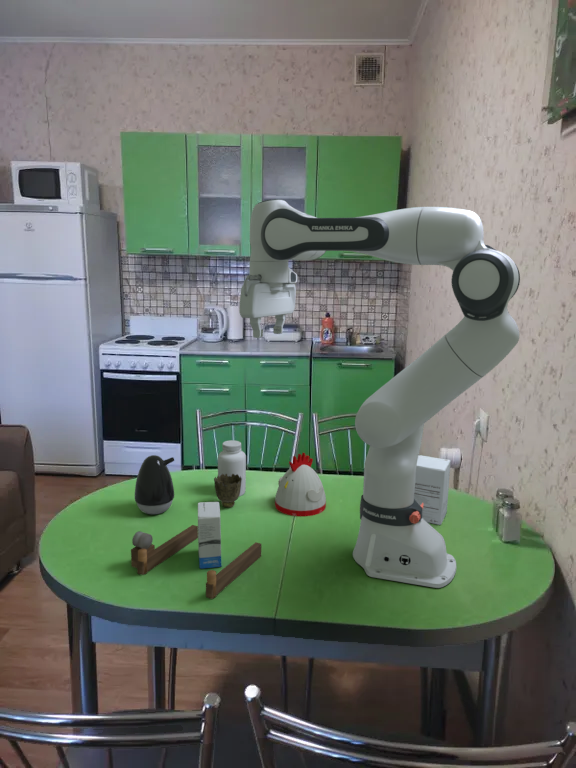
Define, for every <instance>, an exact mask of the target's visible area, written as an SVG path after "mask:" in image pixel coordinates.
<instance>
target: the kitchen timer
mask: <svg viewBox="0 0 576 768" xmlns="http://www.w3.org/2000/svg"><path fill="white" fill-rule="evenodd" d="M313 460H314V458H312V457H310V456H309V455H308V454H306V453H305V452H302V454H301V453H298V454H297V456H295V455H293V456H292V462H291V461H288V464H289V466H290V468H289V469H287V471H286V472H285V473H284V474H283V475H282V476H280V477H279V478H278V481H277V482H278V487H277V490H276V493H275V497H274V507H275V509H276V510H277V511H278V512H279V513H280V512H281V513H282V514H285V515H287V516H292V517H312V516H316V515H319V514H321V513H323V512H324V511H325V510H326V508H327V498H326V492H325V488H324V486H323V482H322V480H321V478H320V477H319V475H318V474H317V472H316V471H315V470H314V469H313V468H312V464H313Z"/></svg>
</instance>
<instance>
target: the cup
mask: <svg viewBox="0 0 576 768" xmlns="http://www.w3.org/2000/svg"><path fill="white" fill-rule="evenodd" d="M213 481H214V488H215V489H214V490H215V494H216V497H217V499H218V500H219V501H220V502H221V504H220V505H221V506H222V507H224V508H232V507H234V506H235V504H236V502H235V501H237V500H238V499H239V498H240V496H239V495H240V489H241V481H242V478H241V476H240V478H239V475H238V474H237V475H234V474H232V476H229V477H228V476H227V474H225V475H224V474H221V475H220V477H219V475H218V474H217V476H215V477H214V478H213Z"/></svg>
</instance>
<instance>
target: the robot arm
mask: <svg viewBox="0 0 576 768" xmlns="http://www.w3.org/2000/svg"><path fill="white" fill-rule="evenodd" d="M484 231H485V230H484V224H483V221H482V220H481V218H480V216H479V215H478V214H477V213H476V212H474V211H472V210H469V209H463V208H458V207H446V206H416V207H406V208H401V209H396V210H395V209H394V210H390V211H386V212H380V213H374V214H373V213H372V214H369V215H363V216H356V217H355V216H354V217H316V216H314V215H312V214H311V215H310V214H309V213H305V212H302V211H300V210H298V209H296V208H294V207H292V206H291V205H290V204H289V203H288V202H287V201H285V200H284V199H278V198H277V199H276V198H274V199H265V200H261V201H260V202H258V203H257V204H255V205H254V206H253V208H252V210H251V214H250V222H249V244H250V249H251V251H250V257H249V275H247V276H246V278H245V279H244V281H243V285H241V288H240V296H239V308H238V311H239V316H240V317H241V318H242V319H243V318H244V319H249V324H250V326H251V329H252V337H253V338H255V339H256V338H257V339H260V338H263V337H264V334H263V333H264V329H262V327H261V323H262V318H266V317H274V319H276V320H275V322H274V323H275V324H274V326H273V329H272V330H273V331H272V332H273V334H274V335H281V334H283V331H284V330H283V327H284V324H285V322H286V315H291V314H294V311H295V310H296V309H295V308H296V297H297V288H296V287H297V286H296V283H297V282H298V274H297V273H296V272H295V271H293V269H292V268H290V267H289V261H290V260H292V261H294V260H295V261H313V260H317V259H319V258H320V257H321V258H322V256H323V255H325V254H326V252H327V251H328V252H334V251H335V252H339V251H340V252H351V253H352V252H354V253H359V254H363V255H367V256H370V257H374V258H378V259H380V260H385V261H388V262H392V263H397V264H403V265H404V264H405V265H411V266H413V265H415V266H443V267H447V268H448V269H450V270H452V274H451V289H452V292H453V294H454V297H455V298H456V301H457V303H458V304H459V305H458V306H459V307H460V310H461V313H462V314H463V318H462V319H461V320H460V321H459V322H458V324H456V325H455V326H454V327H453V328H452V329H450V330H449V331H448V332H446V334H444V335H443V336H442V337H441V338H440V339H439V340H437V341H436V342H435V343H434V344H432V345H431V346H429V348H428V349H427V350H425V351H424V352H423V353H422V354H421V355H419V357H418V358H416V359H414V360H413V362H411V363H410V364H409V365H407V366H406V367H405V368H403V369H402V370H401V371H399V372H398V373H397V374H396V375H395V376H393V377H392V378H391V379H390V380H388V381H387V382H386V383H384V384H383V385H382V386H381V387H379V388H378V389H377V390H376V391H375V392H374V393H373V394H371V395H370V396H369V397H367V398H366V399H365V400H364V401H363V403H362V404H361V406H359V409H358V411H357V413H356V414H355V419H354V427H355V430H356V432H357V435H358V437H359V438H360V440H361V441H363V442H364V444H366V445H368V446H369V448H368V452H367V455H366V458H365V460H364V467H363V468H364V470H363V484H362V485H363V488H362V491H363V492H362V495H361V496H360V500H359V501H360V502H359V519H360V524H359V531H358V535H357V539H356V542H355V543H356V544H355V546H354V548H353V551H352V558H353V560H355V562H356V563H357V564H358V565H359V566H361V567H362V568H363V569H364V573H366V575H367V577H368V576H369V577H371V578H377V579H381V580H387V581H394V582H399V583H405V584H411V585H416V586H417V585H418V586H423V587H430V588H434V589H435V588H436V589H440V588H443V587H445V586H447V585H448V584H450V583H451V582H452V581H453V579H454V577H455V575H456V573H457V561H456V558H455V557H454V556H453V555H452V554H450V553H448V552H447V546H446V541H445V539H444V537H443V535H442V534H441V533H439V531H438V530H437V529H435V528H434V527H433V526H432V525H431V524H430V523H428V522H426V521H425V520H424V519H423V518H422V511H423V503H422V504H421V505H419V504H418V503H417V502H416V501H415V499H414V491H415V477H416V466H417V460H418V455H419V454H420V449H421V445H422V440H423V439H422V438H423V434H424V433H423V432H424V428H425V423H427V422H428V421H429V420H430V419H431V418H433V417H434V416H435V415H437V414H438V413H439V412H440V411H442V410H443V409H444V408H446V407H447V406H448V405H449V404H450V403H452V401H455V400H456V399H457V398H458V397H460V396H461V395H462V394H463V393H464V392H466V391H467V390H468V389H470V388H471V387H473V385H475V384H476V383H478V382H479V381H480V380H481V379H483V378H484V377H485V376H486V375H488V373H490V372H491V371H492V370H493V369H494V368H496V367H497V366H498V365H499V364H500V363H501V362H502V361H503V360H504V359H505V358H506V357H507V356H508V355H509V354H510V353H511V352H512V350H513V349H514V348H515V347H516V346H517V345H518V342H519V341H520V329H519V326H518V324H517V321H516V320H515V319H514V317H512V315H511V314H510V312H509V311H508V310H509V309H508V305H509V302H510V300H512V298H514V296H515V295H516V293H517V291H518V290H519V287H520V283H521V275H520V270H519V267H518V266H517V264H516V263H515V262H514V260H513V259H512V258H511V257H510V256H509V255H508V254H506V253H504V252H502V251H500V250H498V249H495V248H494V247H492V246H490V245H488V244H485V241H484V240H485V238H484V236H485V232H484Z"/></svg>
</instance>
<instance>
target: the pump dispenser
mask: <svg viewBox="0 0 576 768" xmlns="http://www.w3.org/2000/svg"><path fill="white" fill-rule="evenodd" d="M173 462H175V457H169V458H167V459H163V458H162V457H161V456H159V455H156V454H154V455H149V456H148V457H146V458H145V459H144V460H143V462H141V463H142V464H141V465H140V468H139V470H138V474H137V476H136V481H135V485H134V486H135V487H134V501H135V503H136V505H137V507H138V509H139V510H140V511H141V512H142V513H144V514H147V515H159V514H162V513H164V512H166V511H168V510H169V508H170V507H171V506H172V504H173V501H174V498H175V488H174V482H173V478H172V476H171V475H172V474H171V472H170V469H169V467H168V465H169V464H171V463H173Z"/></svg>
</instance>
